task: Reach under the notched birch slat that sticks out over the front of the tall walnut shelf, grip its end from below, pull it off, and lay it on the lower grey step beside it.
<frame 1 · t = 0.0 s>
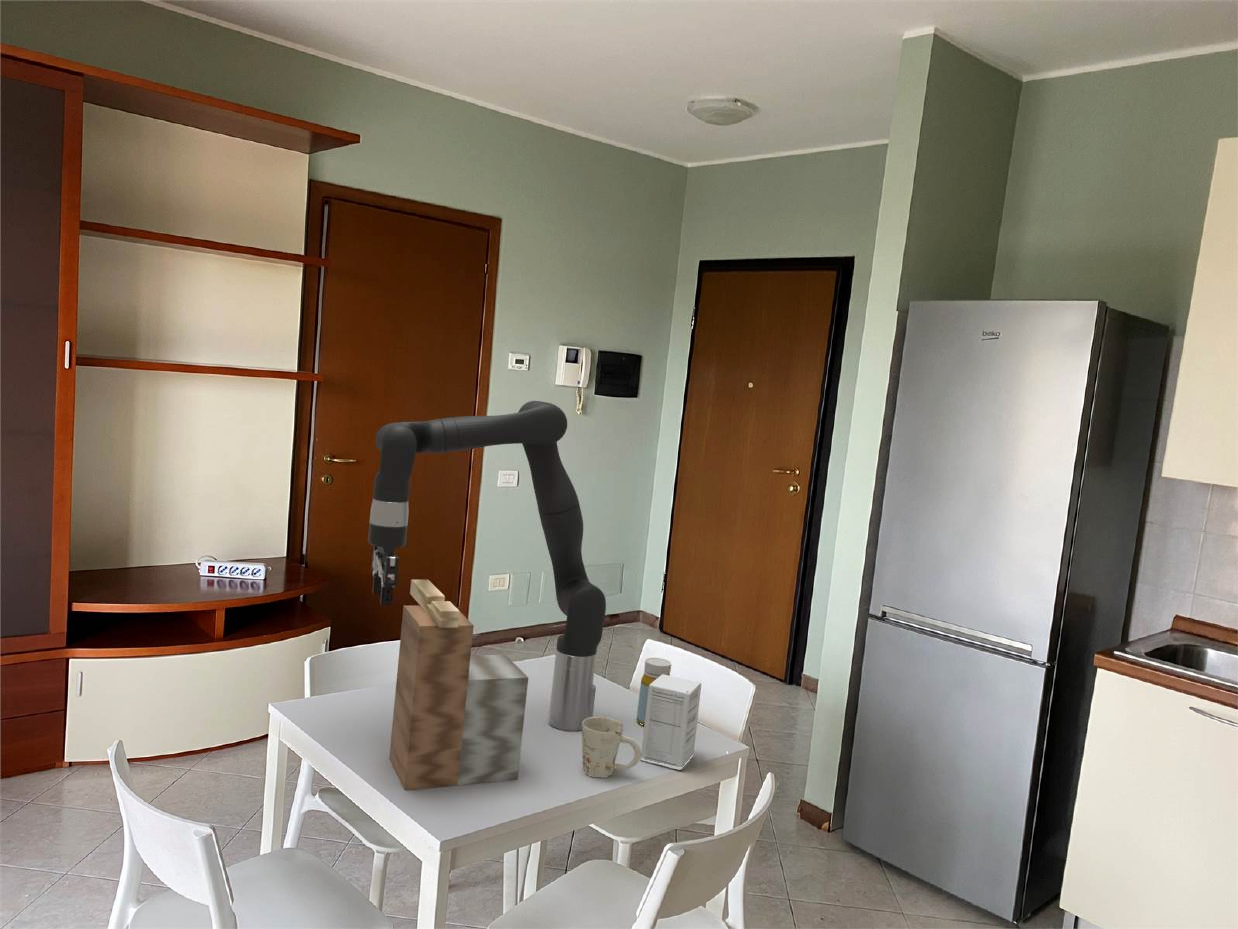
hand: (381, 599, 185), 29 cm above the table, tool pointing down, fingers open, 8 cm apart
step shelf: (452, 769, 178), on the table
bottle: (650, 724, 214), on the table
mug: (607, 774, 184), on the table
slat: (432, 609, 176), point 31 cm above the table, touching step shelf
supplement box: (666, 760, 194), on the table
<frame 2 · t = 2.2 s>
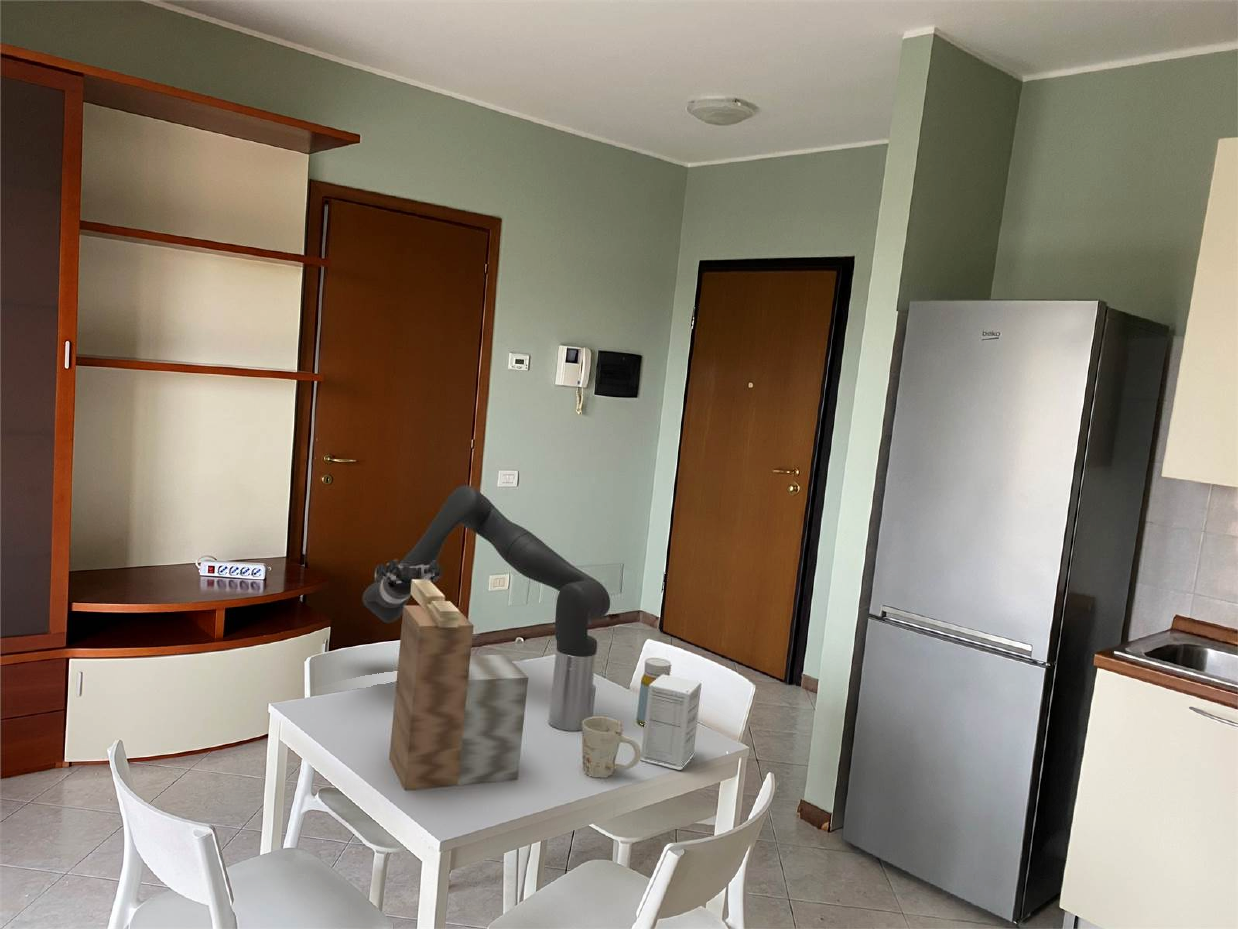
hand: (415, 564, 198), 35 cm above the table, tool pointing upward, fingers open, 8 cm apart
nothing on the table moved.
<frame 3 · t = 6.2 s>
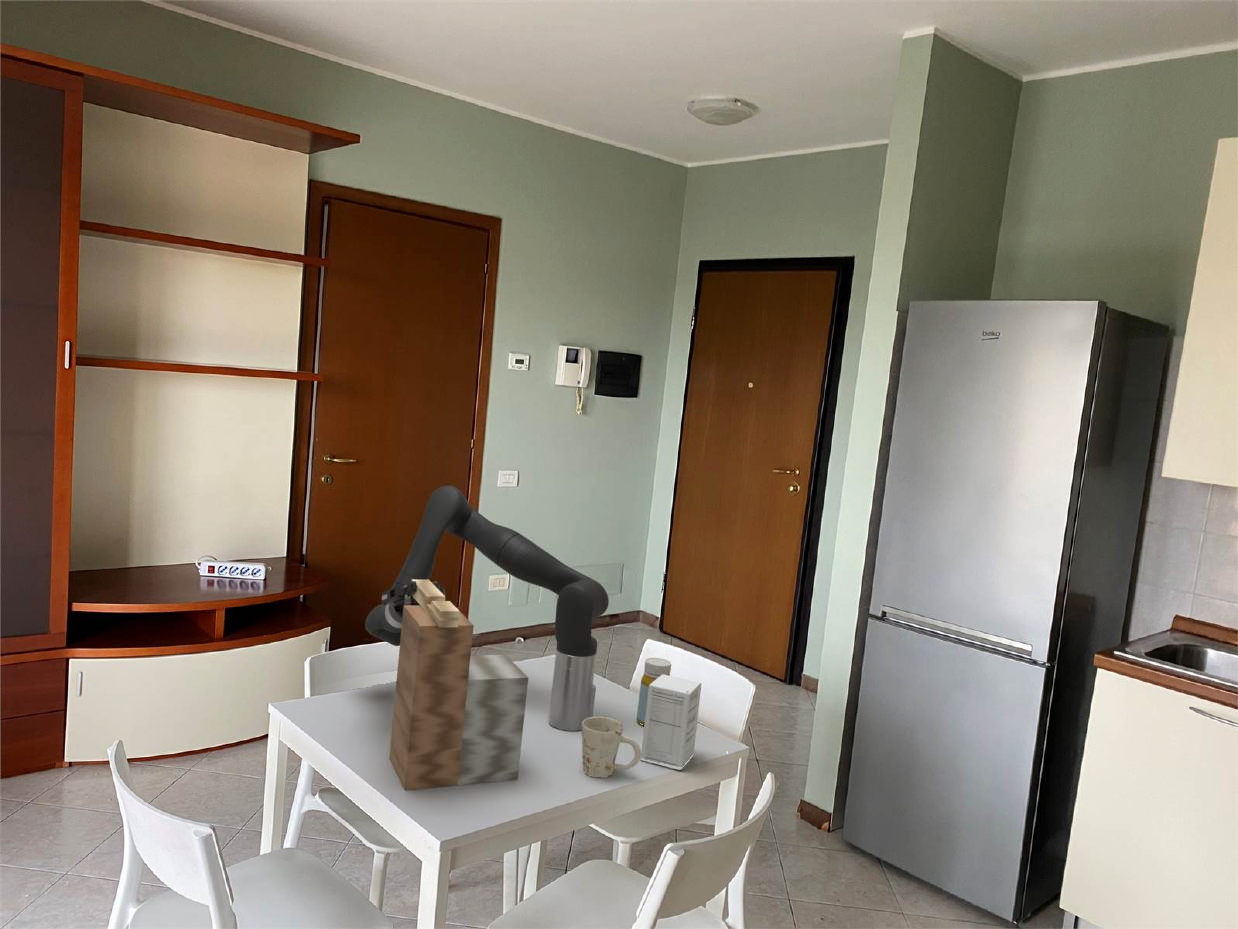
hand: (425, 586, 182), 34 cm above the table, tool pointing upward, fingers closed on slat, 3 cm apart
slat: (432, 609, 176), point 31 cm above the table, touching gripper
everything else where it was.
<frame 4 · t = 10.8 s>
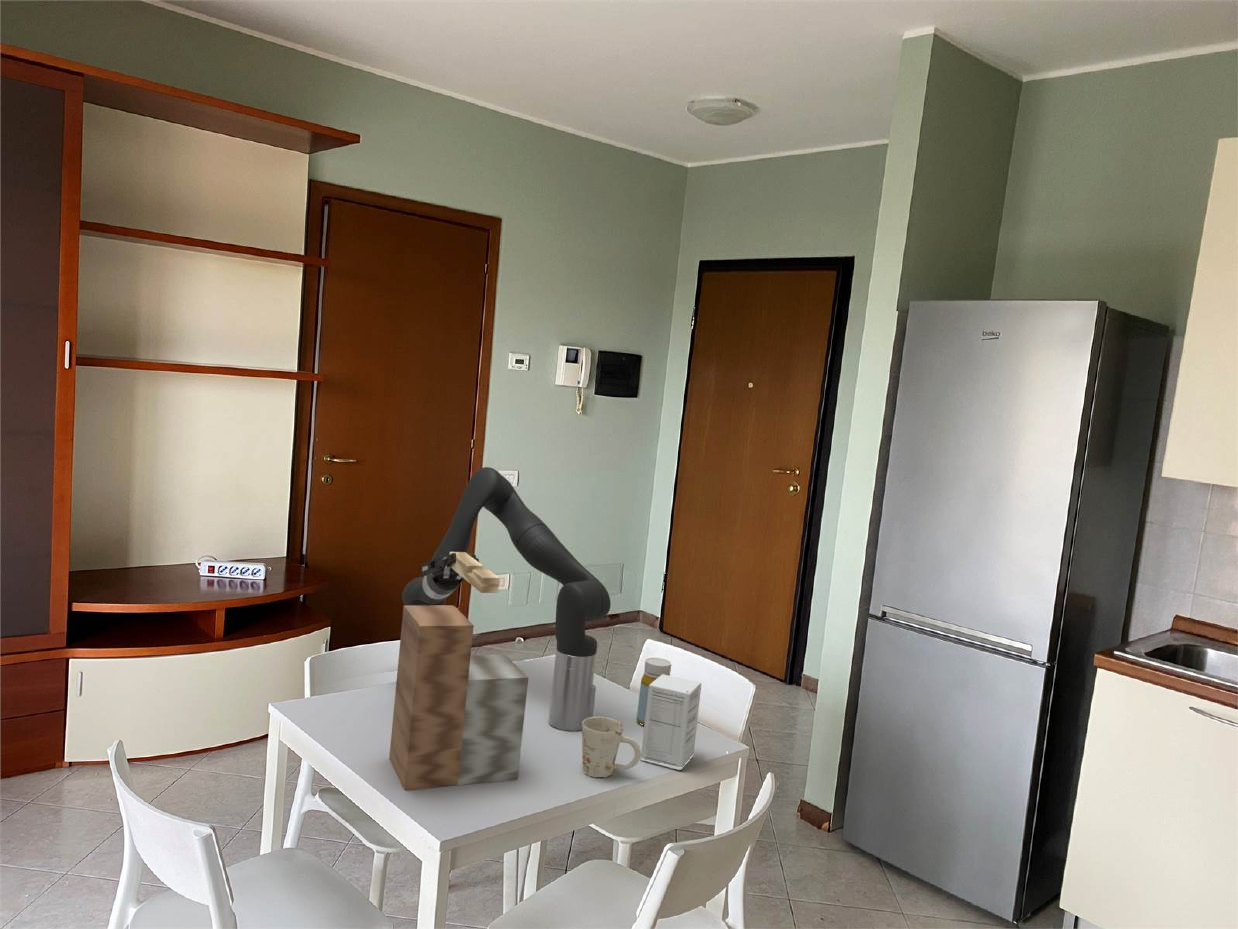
hand: (463, 557, 195), 38 cm above the table, tool pointing upward, fingers closed on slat, 3 cm apart
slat: (471, 578, 189), point 35 cm above the table, touching gripper
everything else where it was.
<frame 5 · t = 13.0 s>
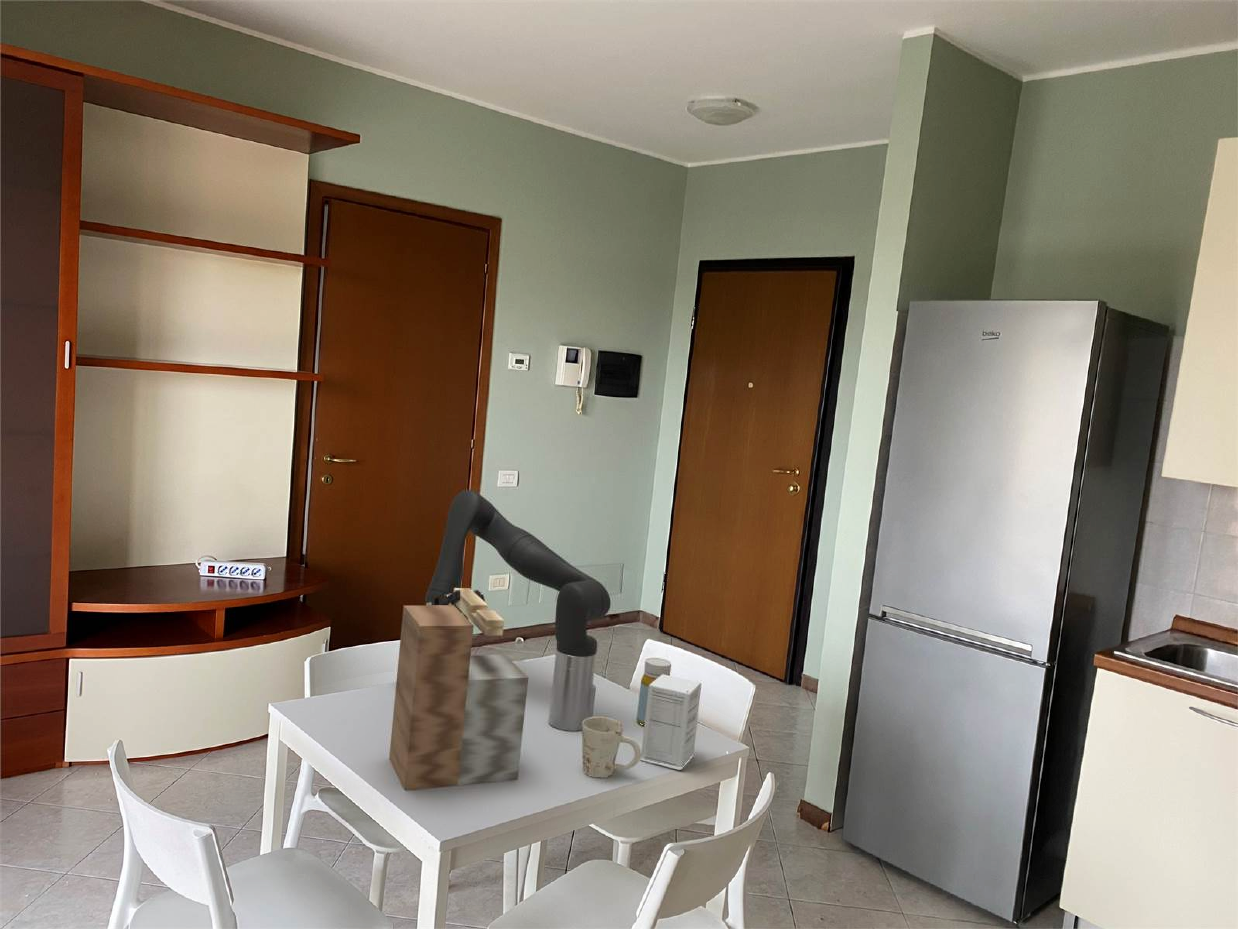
hand: (468, 594, 191), 31 cm above the table, tool pointing upward, fingers closed on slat, 3 cm apart
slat: (476, 617, 185), point 28 cm above the table, touching gripper
everything else where it was.
when the fingers open (25 cm above the table, at t = 15.1 s): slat drops 2 cm, resting on step shelf.
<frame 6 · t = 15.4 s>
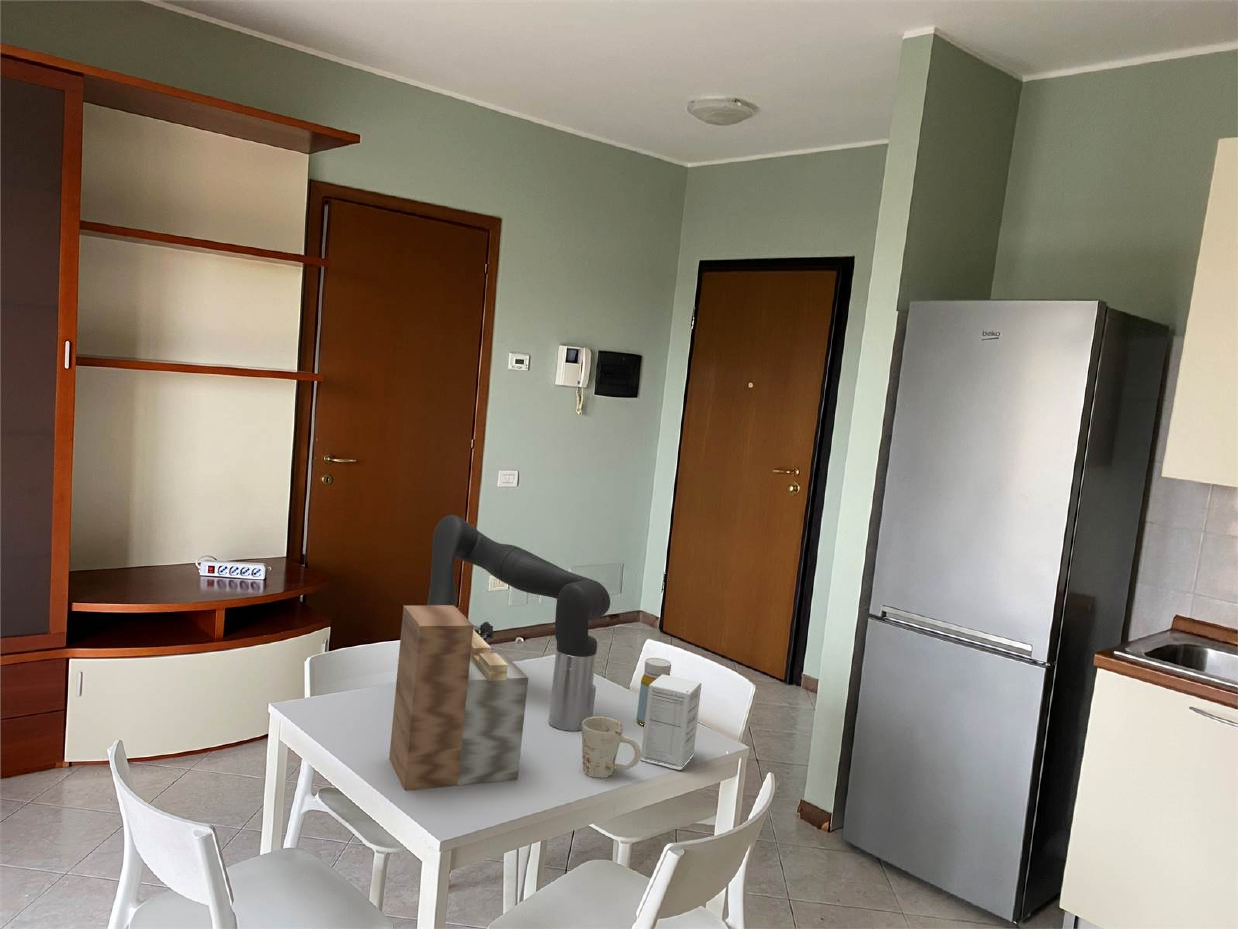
hand: (471, 626, 188), 25 cm above the table, tool pointing upward, fingers open, 6 cm apart
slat: (478, 660, 181), point 20 cm above the table, touching step shelf
everything else where it was.
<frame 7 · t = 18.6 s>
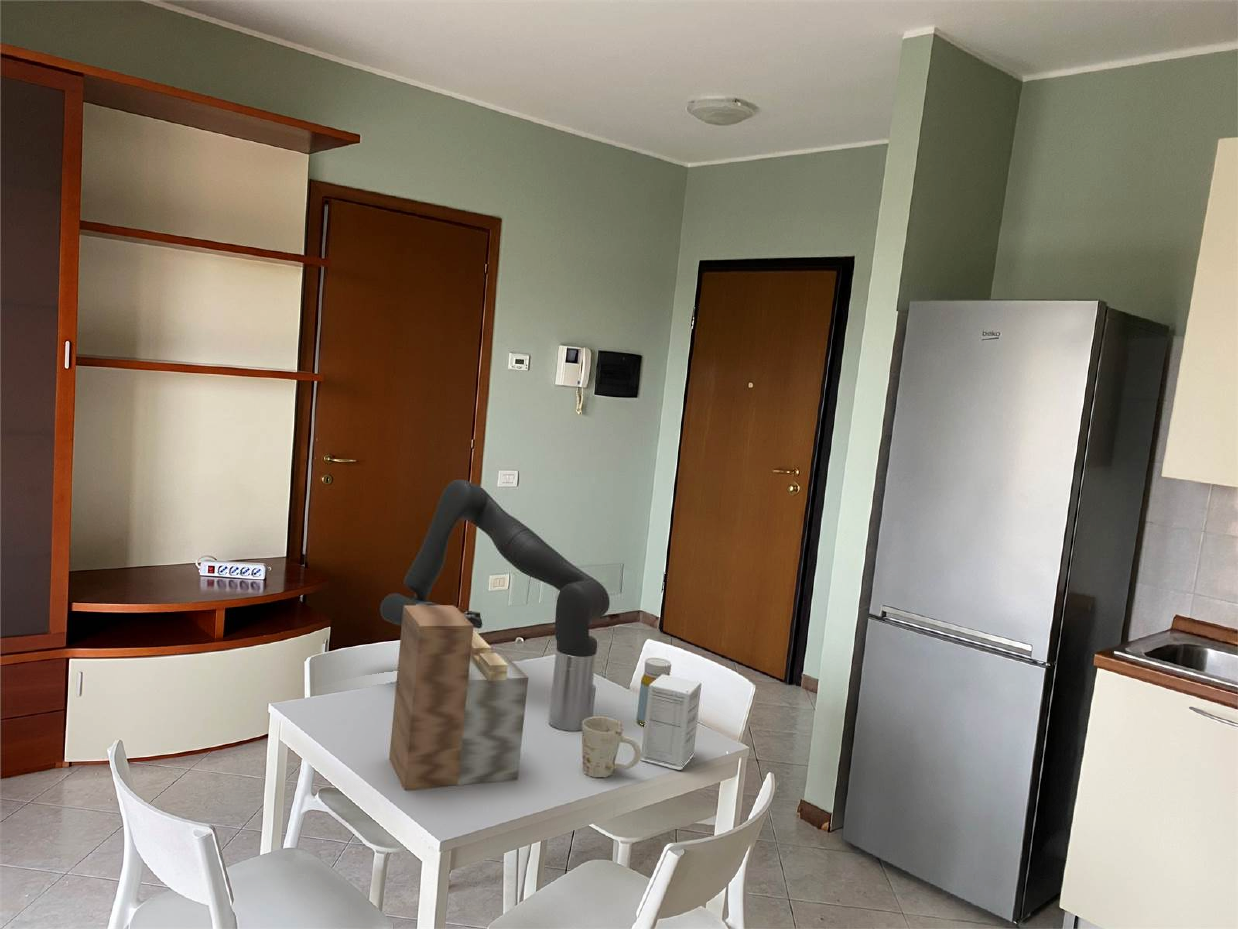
hand: (462, 628, 198), 22 cm above the table, tool horizontal, fingers open, 8 cm apart
nothing on the table moved.
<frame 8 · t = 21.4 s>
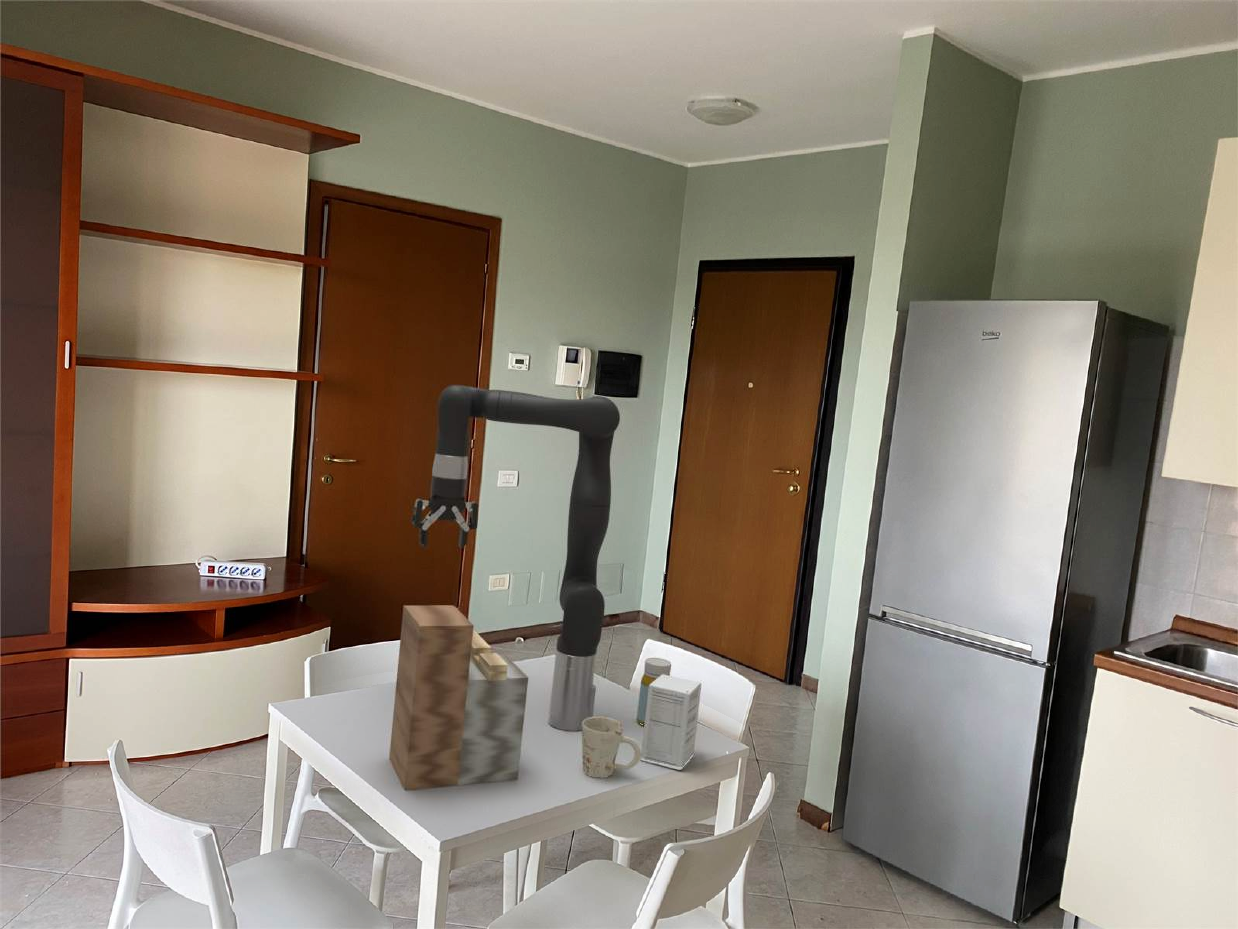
hand: (442, 546, 202), 38 cm above the table, tool pointing down, fingers open, 8 cm apart
nothing on the table moved.
at the end: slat inside the target area (0.1 cm from its centre), point 20.5 cm above the table; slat tilted 0°; the gripper is holding nothing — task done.
